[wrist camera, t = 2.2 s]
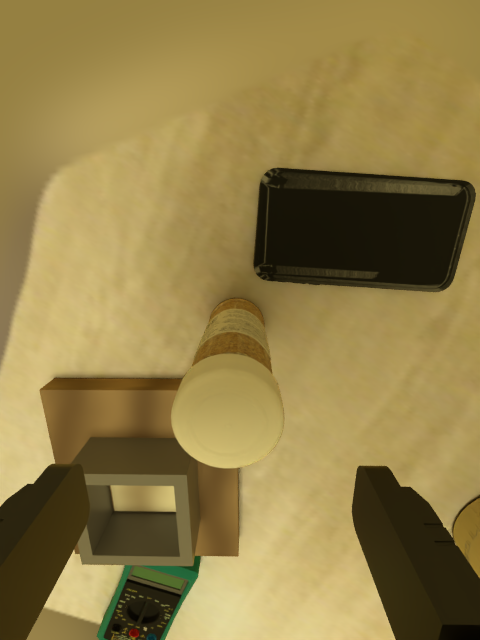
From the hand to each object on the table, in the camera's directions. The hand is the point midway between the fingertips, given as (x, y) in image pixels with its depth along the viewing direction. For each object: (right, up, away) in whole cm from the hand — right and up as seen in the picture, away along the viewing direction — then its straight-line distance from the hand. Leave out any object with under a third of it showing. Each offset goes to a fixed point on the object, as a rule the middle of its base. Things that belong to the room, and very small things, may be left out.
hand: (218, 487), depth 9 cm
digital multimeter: (-9, -25, +25) cm, 37 cm away
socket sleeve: (-8, -9, +18) cm, 22 cm away
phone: (+9, +11, +14) cm, 20 cm away
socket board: (-8, -9, +20) cm, 23 cm away
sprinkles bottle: (0, +5, +16) cm, 17 cm away
